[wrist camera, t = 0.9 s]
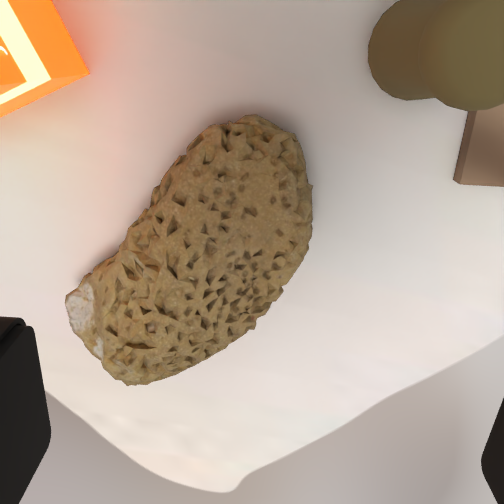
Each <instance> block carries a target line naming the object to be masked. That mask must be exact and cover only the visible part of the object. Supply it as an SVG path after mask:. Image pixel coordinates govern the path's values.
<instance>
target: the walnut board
mask: <svg viewBox="0 0 504 504" xmlns="http://www.w3.org/2000/svg"><path fill="white" fill-rule="evenodd" d="M453 180H454V181H456V182H457V183H459V184H463V185H482V186H500V187H504V104H501V105H499V106H496V107H494V108H491V109H488V110H478V111H469V112H468V117H467V121H466V125H465V130H464V134H463V139H462V143H461V148H460V152H459V156H458V161H457V165H456V170H455V174H454V178H453Z"/></svg>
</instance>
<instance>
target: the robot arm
mask: <svg viewBox="0 0 504 504" xmlns="http://www.w3.org/2000/svg"><path fill="white" fill-rule="evenodd" d="M50 438H51V426H50V420H49V414H48V409H47V403H46V397H45V391H44V385H43V379H42V373H41V367H40V362H39V356H38V350H37V344H36V338H35V333H34V329H33V328H32V327H31V326H26V323H25V322H24V320H23V319H21V318H15V317H0V504H19V502H20V500H21V498H22V497H23V495H24V493H25V491H26V489H27V487H28V485H29V483H30V481H31V479H32V477H33V475H34V473H35V472H36V470H37V468H38V466H39V464H40V462H41V460H42V458H43V456H44V454H45V452H46V451H47V448H48V446H49V443H50ZM481 466H482V471H483V474H484V477H485V479H486V481H487V483H488V485H489V487H490V489H491V491H492V493H493V495H494V497H495V499H496V501H497V503H498V504H504V398H503V401H502V404H501V407H500V409H499V412H498V414H497V417H496V419H495V422H494V425H493V428H492V430H491V433H490V436H489V438H488V441H487V443H486V446H485V449H484V451H483V454H482V458H481Z"/></svg>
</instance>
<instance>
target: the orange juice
mask: <svg viewBox="0 0 504 504" xmlns="http://www.w3.org/2000/svg"><path fill="white" fill-rule="evenodd" d="M88 74H90V73H89V71H88V69H87V68H86V66H85V64H84V62H83V60H82V58H81V56H80V54H79V52H78V50H77V49H76V47H75V45H74V43H73V41H72V39H71V37H70V35H69V33H68V31H67V30H66V28H65V26H64V24H63V22H62V20H61V18H60V16H59V14H58V12H57V10H56V9H55V7H54V5H53V3H52V1H51V0H0V117H2V116H4V115H6V114H8V113H10V112H12V111H15V110H17V109H19V108H21V107H23V106H25V105H27V104H29V103H31V102H33V101H35V100H37V99H39V98H41V97H43V96H45V95H47V94H49V93H51V92H53V91H55V90H57V89H60V88H62V87H64V86H66V85H68V84H70V83H72V82H74V81H76V80H78V79H80V78H82V77H84V76H86V75H88Z"/></svg>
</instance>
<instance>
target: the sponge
mask: <svg viewBox="0 0 504 504" xmlns="http://www.w3.org/2000/svg"><path fill="white" fill-rule="evenodd" d="M312 188H313V186H312V185H310V184H308V180H307V175H306V163H305V159H304V156H303V151H302V148H301V146H300V143H299V142H298V140H297V138H296V135H295V134H294V133H290V132H286V131H283V130H282V129H280V128H279V127H278V126H276V125H275V124H273V123H271V122H270V121H268V120H266V119H264V118H262V117H260V116H258V115H245V116H244V117H243V118H241V119H240V120H238V121H237V122H235V123H234V124H233V123H232V122H230V121H229V122H228V124H221V125H216V124H214V125H211V126H209V127H208V128H207V129H205V130H204V131H203V132H202V133H201V134H200V135H199V136H197V137H196V138H195V139H194V140H193V141H192V142H191V143H190V145H189V146H188V147H187V155H183V156H179V157H178V158H177V160H176V161H175V162H174V164H173V165H172V166H171V167H170V169H169V170H168V171H167V173H166V174H165V176H164V177H163V178H162V180H161V185H159V186H157V187H155V188H154V190H153V193H152V198H151V206H150V208H149V210H147V209H146V208H145V210H144V211H143V213H142V214H141V216H140V217H139V219H138V220H137V221H135V222H134V223H133V224H132V225H131V226H130V227H129V228H128V232H127V236H126V239H125V241H124V242H123V243H122V244H121V245H120V246H119V251H118V252H117V253H116V255H115V256H114V257H112V258H109V259H106V260H105V261H103V262H102V263H100V264H99V265H97V266H96V267H95V268H94V270H93V273H92V274H91V273H88V274H87V275H85V276H84V278H83V279H82V281H81V283H80V285H79V287H78V288H77V289H75V290H73V291H72V292H70V293H69V294H68V295H66V299H65V306H66V309H67V312H68V316H69V323H70V325H71V327H72V330H73V332H74V333H75V334H76V335H77V336H78V337H79V338H80V339H82V341H83V342H84V345H85V347H86V348H87V349H88V350H89V351H90V352H91V354H92V355H94V356H95V357H96V358H98V359H99V360H101V363H102V366H103V368H104V369H105V370H106V371H107V372H108V373H109V374H110V375H111V376H112V377H113V378H114V379H115V380H122V381H123V382H124V383H125V384H126V385H127V386H129V385H135V386H136V385H137V384H140V385H148V384H149V383H151V382H153V381H158V380H162V379H165V378H167V377H170V376H173V375H176V374H178V373H180V372H182V371H184V370H185V369H187V368H190V367H192V366H195V365H196V364H199V363H200V362H201V361H203V360H206V359H208V358H209V357H211V356H212V355H214V354H215V353H217V352H219V351H221V350H223V349H225V348H226V347H227V346H228V344H229V343H232V342H234V341H235V340H237V339H238V338H240V337H241V336H243V335H244V334H246V332H247V331H248V330H249V329H252V330H254V329H255V326H256V320H257V318H258V317H261V316H263V315H265V314H266V312H267V311H268V309H269V308H270V305H271V303H272V302H274V301H276V300H277V299H278V298H279V296H280V295H281V294H282V293H283V289H282V287H281V286H283V285H286V284H287V283H288V282H289V280H290V279H291V277H292V276H293V274H294V273H295V271H296V270H297V268H298V267H299V266H300V264H301V262H302V261H303V259H304V256H305V254H306V253H307V251H308V250H309V245H308V243H309V241H310V239H311V236H312V224H311V223H312V220H313V215H312Z"/></svg>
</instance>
